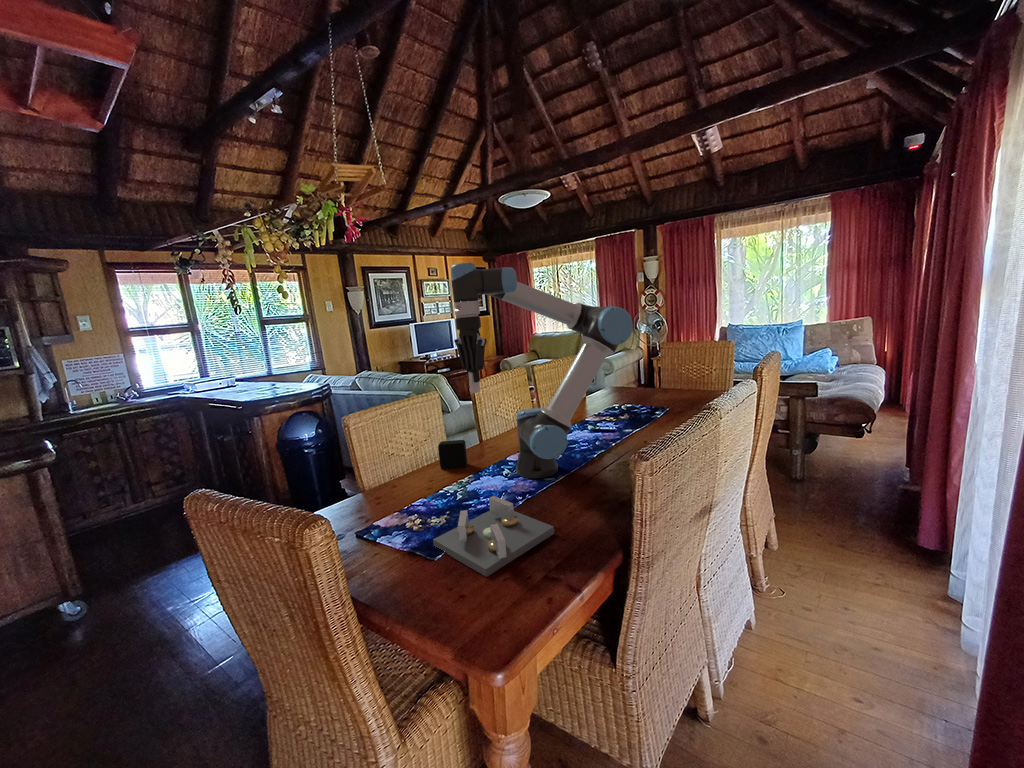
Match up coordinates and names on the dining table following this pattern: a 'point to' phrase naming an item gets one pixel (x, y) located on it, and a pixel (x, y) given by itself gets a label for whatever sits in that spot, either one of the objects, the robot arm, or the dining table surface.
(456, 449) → the electronic device
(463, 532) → the knob
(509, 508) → the knob
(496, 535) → the knob
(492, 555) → the base plate
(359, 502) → the dining table surface
